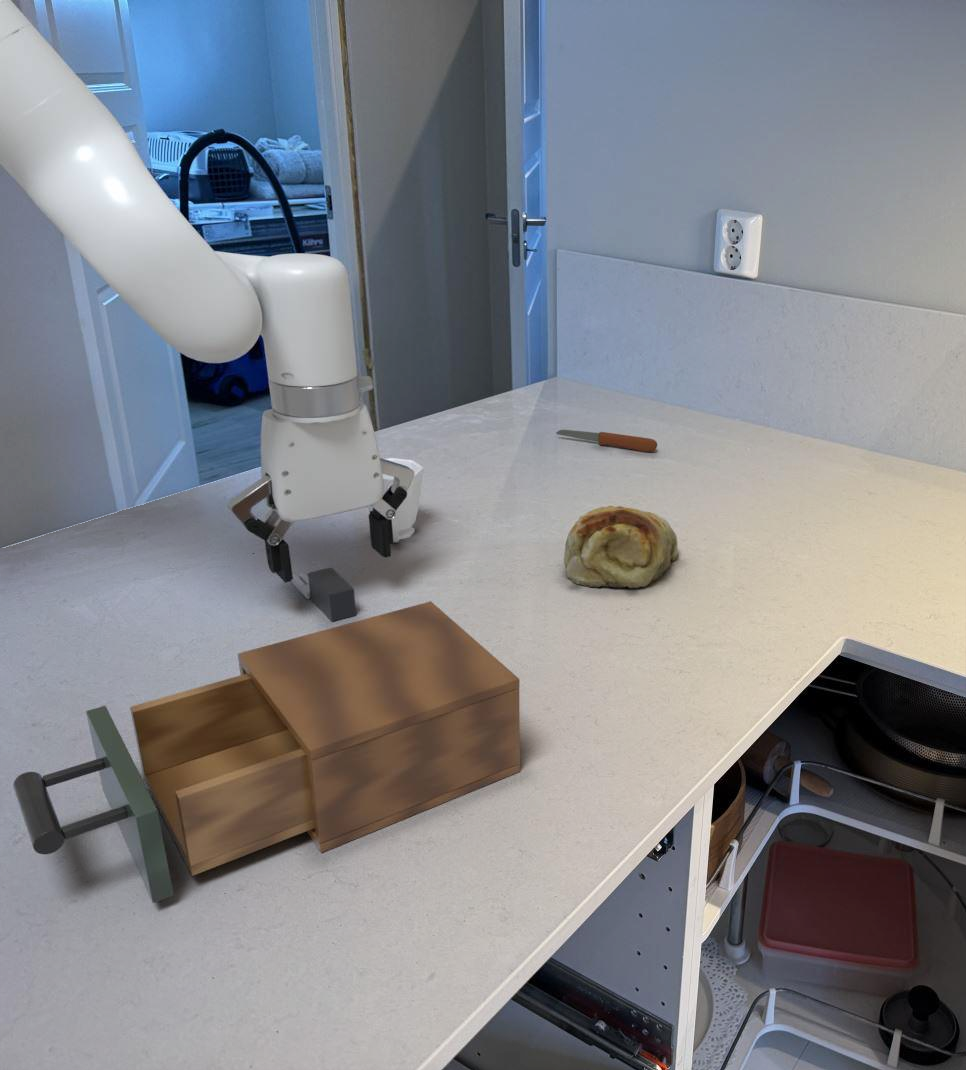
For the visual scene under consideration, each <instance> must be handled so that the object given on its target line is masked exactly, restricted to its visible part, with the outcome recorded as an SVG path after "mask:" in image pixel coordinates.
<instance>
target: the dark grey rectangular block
mask: <svg viewBox="0 0 966 1070" xmlns="http://www.w3.org/2000/svg"><path fill="white" fill-rule="evenodd" d="M291 584H292V585H293V586H294V587H295V588H296V589H297V590H298V591H299V592H300V593H301V594H302V595H303V596H304V598H305V599H306V600H311V602H312V603H314V604H315V605H316V607H317V608H318V609H319V610H320V611H321V612H322V613H323V614H324V616H326V617H327V618H328V619H329V620H330V622H332V623H333V622H337V621H341V620H344V619H349V618H352V617H355V616H357V611H356V599H355V589H354V587H353V586H351V585H350V584H349V582H347V581H346V580H345V579H344V578H343V576H341V575H340V574H339V573H338V572H337V571H336V570H335V569H334V568H333V567H327V568H322V569H317V570H314V571H307V572H306V573H300V574H298V575H297V574H295V575H293V579H292V580H291Z"/></svg>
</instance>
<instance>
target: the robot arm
mask: <svg viewBox="0 0 966 1070" xmlns="http://www.w3.org/2000/svg"><path fill="white" fill-rule="evenodd" d="M0 165H1V167H2V168H4V170H5V171H6V172H8V174H9V175H10V176H11V177H12V178H13V180H15V181H16V182H17V183H18V185H19V186H20V187H21V188H22V189H23V190H24V191H25V192H26V194H27V195H28V196H29V198H30V199H31V200H32V201H33V203H34V204H35V205H36V206H37V208H38V209H39V210H40V211H41V212H42V213H43V214H44V215H45V216H46V218H48V219H49V220H50V222H52V223H53V224H54V226H56V228H57V229H58V230H59V231H60V232H61V233H62V234H63V236H65V238H66V239H67V240H68V241H69V242H70V243H71V244H72V246H73V247H74V248H75V249H76V251H78V252H79V253H80V255H81V256H82V257H83V259H85V260H86V262H87V263H88V264H89V265H90V266H91V267H92V269H94V271H95V272H96V273H97V274H98V275H99V276H100V277H101V278H102V279H103V281H104V282H106V284H107V285H108V286H109V287H111V289H112V290H113V291H114V292H115V293H116V294H117V295H118V296H119V297H120V298H121V299H122V300H123V301H124V302H125V303H126V304H127V305H128V306H129V307H130V308H131V309H132V310H133V311H134V312H135V313H136V314H137V315H138V316H139V317H140V318H141V319H142V320H143V321H144V322H145V323H146V324H147V325H148V326H149V327H150V328H151V329H152V330H153V331H154V332H155V333H156V334H157V335H158V336H159V337H160V338H161V339H162V340H163V341H164V342H166V344H168V345H169V346H170V347H171V348H173V349H174V350H175V351H177V352H179V353H180V354H181V355H184V356H185V357H186V358H189V359H191V360H195V361H197V362H202V363H208V364H222V363H229V362H232V361H235V360H237V359H239V358H241V357H242V356H244V355H246V354H247V353H248V352H249V351H250V350H251V349H252V348H253V347H254V346H255V344H256V343H257V341H258V339H259V338H260V336H261V337H262V340H263V347H264V354H265V356H264V357H265V363H266V371H267V380H268V387H269V394H270V405H271V408H269V409H266V410H264V411H263V412H262V418H261V429H260V471H261V472H260V473H261V478H260V479H258V480H257V481H255V482H254V483H253V484H251V485H249V486H248V487H246V488H245V489H244V490H243V491H241V492H239V493H238V494H236V495H235V496H234V497H232V498H231V499H229V501H227V504H226V507H227V508H228V510H229V511H230V512H231V513H232V514H233V515H234V516H235V518H236V519H237V520H238V521H239V523H241V525H242V526H243V527H244V528H245V529H246V530H247V531H248V532H249V533H251V534H253V535H254V536H256V537H258V538H259V539H261V540H263V541H264V544H265V555H266V561H267V566H268V569H269V571H270V572H271V573H273V574H276V575H277V576H278V577H279V578H280V579H281V580H282V581H283V582H284V584H285V583H290V582H292V579H293V576H294V575H293V569H292V561H291V560H292V559H291V553H290V546H289V544H288V542H287V541H286V540H285V539H284V538H285V537H286V535H287V534H288V532H289V530H291V527H293V525H294V523H299V522H304V521H310V520H314V519H320V518H324V517H328V516H329V517H330V516H334V515H337V514H338V515H339V514H343V513H347V512H352V511H356V510H361V509H364V508H368V506H372V507H373V511H370V513H369V514H368V523H369V536H370V545H371V548H372V549H374V551H375V552H377V553H378V555H380V556H381V557H382V558H389V557H391V556H392V551H391V545H393V544H394V542H393V530H392V519H393V518H394V517H395V516H396V510H397V509H398V507H399V506H400V505H401V503H402V502H403V501H404V500H405V498H406V497H407V490H408V489H409V487H410V484H411V482H412V479H413V477H414V471H413V470H412V469H410V468H409V467H407V466H405V465H402V464H398V463H395V462H392V461H388V460H385V459H386V458H381V456H380V451H379V446H378V442H377V441H378V440H377V436H376V434H375V430H374V426H373V422H372V419H371V416H370V413H369V410H368V407H367V405H366V404H365V403H364V402H363V397H362V396H363V393H366V391H372V390H373V389H374V382H373V379H372V377H371V375H365V376H363V375H361V374H359V373H358V367H357V355H356V343H355V335H354V334H355V332H354V320H353V310H352V300H351V298H352V297H351V287H350V280H349V275H348V274H349V273H348V271H347V268H346V267H345V265H344V264H343V263H342V261H340V260H339V259H337V258H336V257H333V256H329V255H326V254H318V253H303V252H301V253H299V252H298V253H281V254H274V255H271V256H265V255H254V254H253V255H252V254H242V253H234V252H227V251H226V252H225V251H218V250H214V249H213V248H212V247H211V246H210V245H209V243H208V242H207V241H206V240H205V238H203V236H202V235H201V234H200V233H199V232H198V231H197V230H196V229H195V228H194V227H193V225H192V224H191V223H190V222H189V220H187V218H186V217H185V216H184V215H183V213H182V212H181V211H180V210H179V209H178V207H176V205H175V203H173V201H172V200H171V199H170V198H169V197H168V195H167V194H166V193H165V192H164V190H163V188H162V187H161V186H160V185H159V183H158V182H157V181H156V178H154V177H153V175H152V174H151V172H150V170H149V169H148V168H147V166H146V165H145V162H144V161H143V159H142V158H141V156H140V154H139V152H138V151H137V149H136V147H135V145H134V143H133V142H132V140H131V138H130V137H129V135H128V134H127V132H126V131H125V129H124V128H123V127H122V125H121V124H120V122H119V121H118V120H117V118H116V117H115V116H114V115H113V114H112V113H111V111H110V110H109V109H108V108H107V107H106V106H105V105H104V103H102V101H101V100H100V99H99V98H98V97H97V96H96V95H95V94H94V92H92V90H91V89H90V88H89V87H88V86H87V84H85V82H84V81H83V80H82V78H80V77H79V76H78V75H77V74H76V73H75V72H74V70H73V69H72V68H71V67H70V66H69V65H68V64H67V62H66V61H65V60H64V59H63V58H62V57H61V56H60V54H59V53H58V52H57V51H56V50H55V49H54V48H53V47H52V45H51V44H50V43H49V42H48V41H47V39H45V38H44V36H43V35H42V34H41V33H40V32H39V31H38V30H37V29H36V28H35V26H34V25H33V24H32V22H31V21H30V20H29V19H28V17H26V15H25V14H23V12H22V11H21V10H20V9H19V7H18V6H17V5H16V4H15V3H14V2H13V1H12V0H0ZM382 473H383V474H386V475H390V476H393V477H394V481H393V482H394V483H393V485H391V486H390V488H389V489H388V490H387V491H386V493H385V494H384V495H383V475H382ZM262 501H264V503H265V504H266V506H267V507H268V508H270V509H269V512H268V513H267V515H266V516H265V518H264V519H263V520H261V519H259V518H258V517H256V516H255V515H254V514H253V513H252V509H253V508H254V507H255V506H257V504H259V503H260V502H262Z"/></svg>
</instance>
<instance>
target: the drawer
mask: <svg viewBox="0 0 966 1070" xmlns="http://www.w3.org/2000/svg"><path fill="white" fill-rule="evenodd" d="M129 711H130V715H131V721H132V726H133V732H134V736H135V741H136V746H137V752H138V757H139V762H140V767H141V772H142V776H141V774H140V772H139V769H138V767H137V766H136V764H135V761H134V759H133V758H132V756H131V754H130V751H129V750H128V748H127V746H126V743H125V742H124V740H123V738H122V736H121V734H120V732H119V729H118V727H117V725H116V724H115V722H114V720H113V718H112V716H111V714H110V711H109V710H108V708H107V706H106V705H102V706H99V707H96V708H92V709H88V710H86V711H85V714H86V719H87V723H88V728H89V731H90V735H91V736H90V737H91V741H92V746H93V750H94V751H93V752H94V755H95V759H93V760H89V761H87V762H83V763H80V764H77V765H73V766H70V767H67V768H64V769H61V770H57V771H54V772H51V773H47V774H44V775H42V774H40V773H39V772H36V771H26V772H23V773H21V774H20V775H18V776H17V777H16V778H15V780H14V782H13V784H12V785H13V786H12V787H13V790H14V793H15V796H16V799H17V803H18V806H19V808H20V811H21V815H22V817H23V821H24V824H25V826H26V830H27V833H28V836H29V839H30V842H31V845H32V848H33V850H34V851H35V852H36V853H37V854H39V855H50V854H53V853H55V852H57V851H59V850H60V849H61V848H62V847H63V845H64V843H65V840H68V839H70V838H73V837H77V836H79V835H82V834H85V833H89V832H91V831H93V830H98V829H100V828H103V827H105V826H108V825H112V824H114V823H117V826H118V827H119V829H120V832H121V834H122V837H123V838H124V842H125V843H126V846H127V848H128V850H129V853H130V855H131V857H132V860H133V862H134V865H135V866H136V869H137V871H138V873H139V875H140V877H141V879H142V882H143V884H144V886H145V889H146V891H147V893H148V895H149V898H150V900H151V902H152V904H155V903H157V902H160V901H162V900H165V899H167V898H170V897H172V896H174V890H173V889H174V888H173V884H172V879H171V873H170V868H169V863H168V858H167V853H166V848H165V842H164V837H163V831H162V827H161V821H160V815H159V812H160V814H161V816H162V818H163V821H164V823H165V825H166V827H167V828H168V830H169V833H170V834H171V836H172V838H173V840H174V843H175V844H176V846H177V849H178V851H179V852H180V854H181V857H182V858H183V860H184V863H185V865H186V866H187V868H188V871H189V872H190V874H191V876H196V875H199V874H201V873H203V872H206V871H209V870H212V869H214V868H216V867H219V866H222V865H224V864H227V863H229V862H232V861H234V860H237V859H239V858H242V857H244V856H247V855H249V854H250V855H251V854H252V853H254V852H258V851H260V850H262V849H265V848H268V847H270V846H272V845H276V844H278V843H281V842H283V841H285V840H288V839H290V838H292V837H295V836H297V835H300V834H303V833H305V832H307V831H308V830H311V829H313V828H315V824H314V815H313V806H312V796H311V787H310V778H309V769H308V760H307V754H306V753H305V751H304V750H303V749H302V747H301V746H300V745H299V743H298V742H297V740H296V739H295V738H294V736H293V735H292V734H291V732H290V731H289V730H288V728H287V727H286V726H285V724H284V723H283V721H282V720H281V719H280V717H279V716H278V715H277V713H276V712H275V711H274V709H273V708H272V707H271V705H270V704H269V703H268V701H267V700H266V698H265V697H264V696H263V694H262V693H261V692H260V690H259V689H258V688H257V686H256V685H255V684H254V682H253V681H252V679H251V678H250V677H249V675H248V674H243V675H240V674H239V675H237V676H233V677H230V678H226V679H222V680H218V681H215V682H211V683H209V684H208V683H207V684H205V685H201V686H198V687H195V688H191V689H187V690H184V691H180V692H176V693H173V694H170V695H166V696H162V697H159V698H156V699H152V700H148V701H145V702H142V703H138V704H135V705H132V706H131V705H130V707H129ZM96 772H98V775H99V779H100V784H101V788H102V791H103V793H104V797H105V798H106V801H107V802H108V805H109V808H110V810H107V811H105V812H101V813H99V814H95V815H92V816H89V817H87V818H84V819H81V820H77V821H75V822H72V823H69V824H66V825H63V826H61V824H60V821H59V819H58V815H57V813H56V810H55V807H54V806H53V801H52V800H51V797H50V794H49V792H48V789H47V788H49V787H51V786H55V785H58V784H62V783H64V782H67V781H71V780H74V779H77V778H80V777H84V776H86V775H90V774H93V773H96ZM142 777H143V778H142ZM158 810H159V811H158Z"/></svg>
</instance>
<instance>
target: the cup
mask: <svg viewBox="0 0 966 1070" xmlns="http://www.w3.org/2000/svg"><path fill="white" fill-rule="evenodd" d="M384 459H385V460H388V461H392V462H395V463H398V464H402V465H405V466H407V467H409V468H410V469H412V470H413V471H414V477H413V479H412V482H411V484H410V487H409V489H408V490H407V497H406V498H405V500H404V501H403V502H402V503H401V505H400V506H399V507H398V509H397V510H396V516H395V517H394V518H393V519H392V530H393V543H399V542H400V540H404V539H409V538H411V536H412V535H413V534H414V533H415V528H414V527H413V525H414V524H415V523H416V520H417V515H418V511H419V507H420V499H421V491H422V489H421V488H422V483H423V476H424V475H423V474H424V467H423V466H422V465H421V464H419V463H418V462H416V461H415V460H413V459H404V458H402V459H401V458H393V457H389V458H384ZM382 475H383V495H384V494H385V493H386V491H387V490H388V489H389V488H390V486H391V485H393V483H394V482H393V481H394V477H393V476H390V475H386V474H383V473H382ZM367 510H368V513H369V514H370V511H373V507H372V506H368V507H367Z"/></svg>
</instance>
